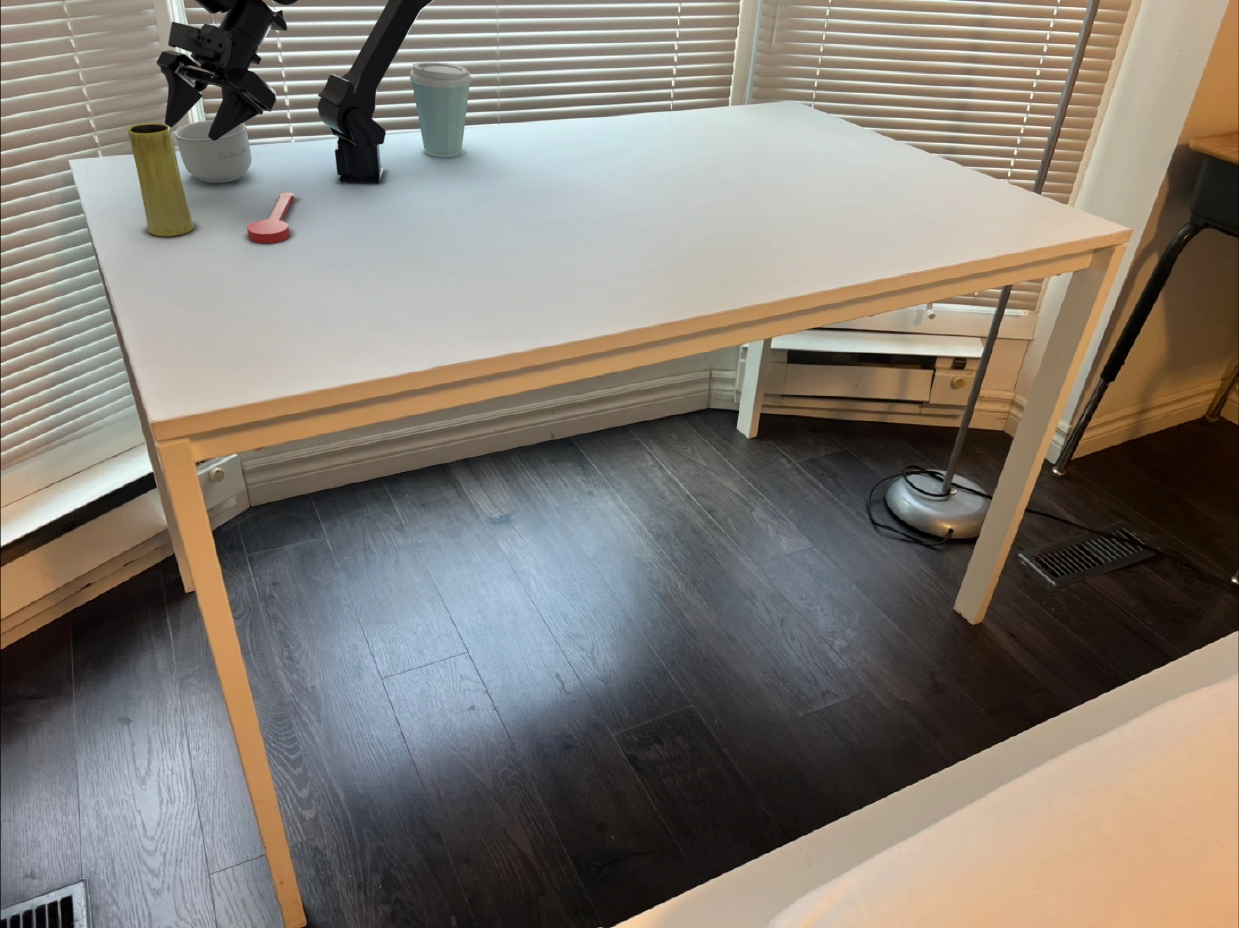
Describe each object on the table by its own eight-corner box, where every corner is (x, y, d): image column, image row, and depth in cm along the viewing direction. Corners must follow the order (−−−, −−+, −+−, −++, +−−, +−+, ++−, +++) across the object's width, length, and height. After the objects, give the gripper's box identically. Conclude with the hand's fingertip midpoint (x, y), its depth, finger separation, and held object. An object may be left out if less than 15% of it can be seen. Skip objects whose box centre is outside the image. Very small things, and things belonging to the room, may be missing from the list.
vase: (203, 226, 138) (183, 126, 130) (170, 240, 134) (147, 137, 125) (171, 218, 140) (149, 118, 132) (138, 231, 136) (113, 129, 127)
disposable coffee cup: (443, 139, 178) (439, 54, 169) (486, 152, 173) (484, 65, 165) (401, 152, 171) (395, 63, 162) (445, 166, 166) (440, 75, 157)
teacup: (232, 191, 150) (223, 140, 146) (170, 183, 152) (158, 132, 147) (276, 165, 162) (268, 116, 157) (217, 158, 163) (208, 109, 158)
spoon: (306, 198, 150) (305, 189, 149) (286, 243, 135) (284, 234, 134) (270, 198, 149) (268, 189, 148) (244, 243, 134) (243, 233, 134)
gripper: (153, -13, 132) (100, 84, 131) (245, 7, 125) (190, 111, 123) (211, 40, 142) (163, 131, 141) (300, 61, 135) (249, 158, 133)
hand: (189, 132), depth 134 cm, fingers open, 9 cm apart
